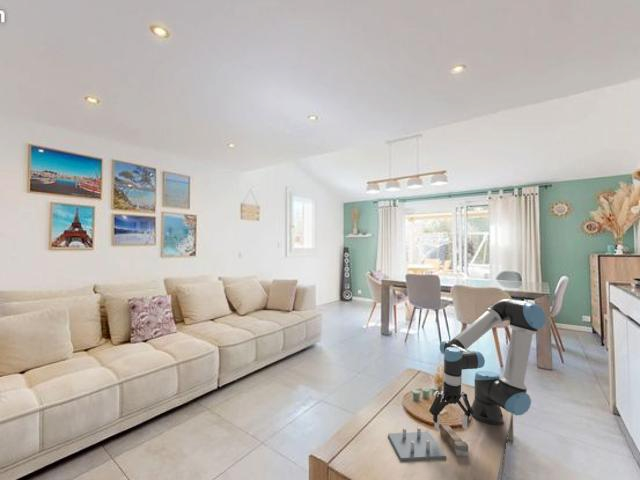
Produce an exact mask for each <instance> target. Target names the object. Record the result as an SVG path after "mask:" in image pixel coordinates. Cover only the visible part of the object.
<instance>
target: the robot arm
mask: <svg viewBox="0 0 640 480" xmlns="http://www.w3.org/2000/svg"><path fill="white" fill-rule="evenodd" d="M506 321H508V322H509V326H510V328H511V334H510V339H509V345H508V350H507V355H506V361H505V366H504V372H503V375H502V376H500V374H499V373H497V372H494V371H488V370H479V371H477V372H476V371H475V374H474V380H473V381H474V399H473V402H472V405H471V404H470V402H469V399H468V394H467V393H466V392H464V391H462V373H463V370H474V369H475V370H477V369H481V368H483V367H484V366H485V361H486V360H485V357H484V355H483V354H482V353H481V352H480V351H478V350H477V351H475V350H472V351H471V350H469V348H470V347H471V346H472V345H473V344H475V342H477V341H478V340H479V339H481V337H483V336H484V335H485V334H486V333H488V332H489V331H490V330H491V329H492V328H494V327H495V326H496V325H500V324H502V323H503V322H506ZM546 321H547V317H546V312H545V311H544V309H543V307H542V306H541V305H540V304H539V305H538V304H536V303H533V302H531V301H524V300H518V299H515V298H505V299H500V300H498V301H496V302H494V303H492V304H491V305H490V306H487V307H486V308H485V310H484V313H482V314H481V315H480V316H479V317H478V318H477V319H475V320H474V321H473V322H472V323H471V324H469V325H468V326H467V327H465V328H464V329H463V330H462V331H461V332H459V333H458V334H457V335H456V336H455V337H453V338H452V339H451V340H443V341H442V342H441V343H440V344H439V351H440V353H441V354H442V355H443V383H442V384H443V385H442V389H443V390H442V391H443V392H441V393H440V392H439V391H437V392H436V394H435V398H434V400H433V401H432V404H431V406H430V408H429V413H430V414H431V415H432V417H433V418H432V421H433V423H434V429H435V430H436V431H437V432H439V431H440V413H441V412H442V411H443V410H444V408H445V407H446V406H448V405H452V404H453V405H456V404H457V405H458V406H459V407H460V409H461V410H462V411H463V412H462V419H461V420H462V421H461V424H462V425H461V427H462V428H463V429H464V431H468V423H470V417H471V415H472V417H474V418H475V419H476V420H478V421H480V422H481V423H485V424H488V425H489V424H490V425H500V424H502V423H503V422H504V415H503V412H502V409H504V410H505V411H506V412H507V413H510V414H511V415H513V416H522V415H524V414H525V413H527V412H528V411H529V409H530V408H531V405H532V399H531V397H530V395H529V394H528V393H527V390H528V388H527V386H526V385H525V379H526V373H527V367H528V363H529V356H530V352H531V347H532V341H533V336H534V335H535V334H537V333H538V330H539V329H543V328H544V326H545V325H546ZM461 398H462V400H463V403H464V404H463V403H462V401H461V400H460V399H461ZM464 405H465V406H464ZM501 408H502V409H501Z"/></svg>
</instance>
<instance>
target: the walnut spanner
mask: <svg viewBox="0 0 640 480" xmlns="http://www.w3.org/2000/svg"><path fill="white" fill-rule="evenodd" d="M439 431H440V432H439V434H441V437H443V438H444V440H445V441H446V442H447V444H448V445H449V446H450V447H451V448H452V450H453V453H454V454H455V456H456V457H468V456H469V445H468V443H467V442H466V441H463V439H462V438H461V437H460V435H458V434H457V432H455V431H454V429H453V428H452V427H451V426H450V425H449V423H439Z"/></svg>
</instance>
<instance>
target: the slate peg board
mask: <svg viewBox="0 0 640 480" xmlns="http://www.w3.org/2000/svg"><path fill="white" fill-rule="evenodd" d="M387 437H388V439H389V441H390V442H391V445H392V447H393V448H394V450H395V452H396V454H397V456H398V458H399V461H401V462H403V461H404V462H406V461H407V462H409V461H423V460H441V459H442V460H443V459H444V460H446V459H447V454H446V453H445V452H444V451H443V449H442V448H441V447H440V445H439V443H438V442H437V441H436V440H435V438H434V437H433V435H432V434H431V433H430V432H429V431H422V429H421V427H420V426H419V427H417V428H416V431H415V432H414V431H413V432H412V431H411V432H407V428H406V427H402V432H392V433H391V432H390V433H387Z"/></svg>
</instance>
